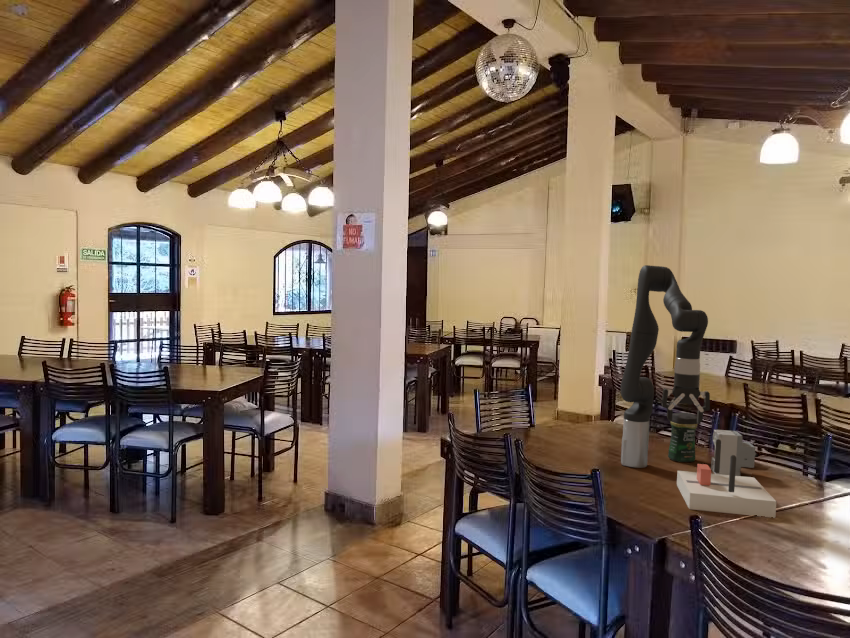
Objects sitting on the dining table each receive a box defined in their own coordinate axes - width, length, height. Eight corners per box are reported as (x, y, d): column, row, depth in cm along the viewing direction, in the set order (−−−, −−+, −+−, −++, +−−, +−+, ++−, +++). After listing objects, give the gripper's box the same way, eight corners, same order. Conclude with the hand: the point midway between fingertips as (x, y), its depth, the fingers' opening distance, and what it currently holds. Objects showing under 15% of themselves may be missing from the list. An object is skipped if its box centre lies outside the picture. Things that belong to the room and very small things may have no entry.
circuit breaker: (758, 478, 228) (761, 437, 227) (715, 474, 231) (718, 434, 230) (752, 472, 235) (754, 432, 234) (710, 469, 238) (713, 429, 237)
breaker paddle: (700, 484, 202) (701, 468, 202) (696, 478, 208) (697, 463, 207) (710, 485, 201) (711, 469, 201) (706, 479, 207) (707, 464, 207)
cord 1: (714, 472, 212) (716, 439, 211) (713, 471, 214) (715, 438, 213) (719, 473, 212) (721, 440, 211) (718, 471, 213) (720, 439, 213)
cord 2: (729, 492, 193) (731, 455, 192) (727, 490, 194) (730, 454, 194) (734, 492, 192) (737, 456, 192) (733, 490, 194) (735, 454, 193)
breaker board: (689, 509, 194) (690, 492, 194) (676, 484, 218) (677, 470, 217) (775, 517, 189) (776, 501, 189) (753, 492, 212) (753, 477, 212)
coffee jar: (676, 463, 244) (679, 415, 243) (664, 457, 252) (667, 411, 251) (699, 462, 246) (701, 415, 245) (686, 456, 254) (689, 410, 253)
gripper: (665, 372, 202) (662, 422, 203) (713, 375, 199) (710, 426, 200) (661, 369, 209) (659, 418, 210) (708, 371, 206) (705, 421, 207)
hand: (684, 422), depth 205 cm, fingers open, 8 cm apart
